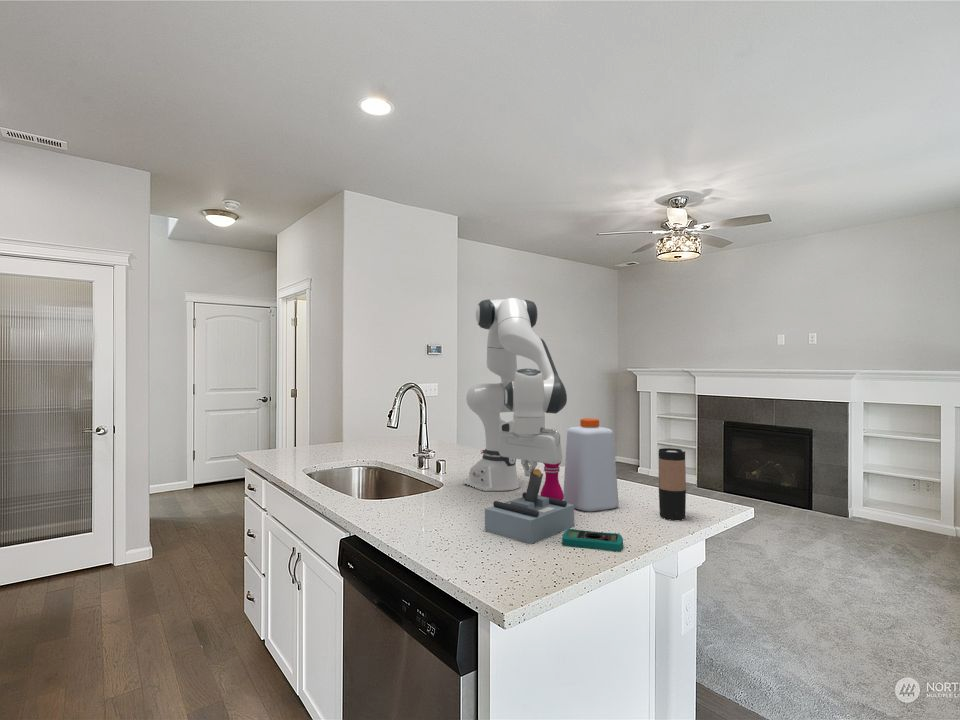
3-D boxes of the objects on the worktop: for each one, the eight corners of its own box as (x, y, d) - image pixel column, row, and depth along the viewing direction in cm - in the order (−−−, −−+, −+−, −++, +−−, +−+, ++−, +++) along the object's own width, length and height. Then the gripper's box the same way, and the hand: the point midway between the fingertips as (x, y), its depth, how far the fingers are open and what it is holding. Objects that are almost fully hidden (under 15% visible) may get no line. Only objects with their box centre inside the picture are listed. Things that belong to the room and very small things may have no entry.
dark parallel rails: (491, 506, 140) (491, 501, 140) (524, 496, 151) (524, 491, 151) (536, 518, 130) (536, 511, 130) (568, 506, 140) (568, 500, 140)
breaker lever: (522, 504, 140) (531, 468, 138) (529, 502, 142) (538, 466, 140) (529, 508, 139) (538, 472, 137) (535, 506, 141) (544, 470, 139)
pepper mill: (563, 513, 154) (562, 448, 154) (539, 512, 155) (539, 447, 156) (564, 507, 161) (563, 444, 161) (541, 506, 162) (541, 444, 163)
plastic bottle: (624, 508, 159) (623, 420, 160) (583, 513, 154) (582, 422, 154) (596, 497, 173) (595, 416, 174) (558, 501, 168) (557, 418, 168)
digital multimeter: (622, 554, 122) (622, 542, 122) (561, 547, 126) (561, 535, 126) (623, 544, 129) (623, 532, 129) (565, 538, 133) (565, 527, 133)
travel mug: (654, 517, 150) (653, 450, 150) (665, 511, 155) (665, 447, 156) (679, 522, 144) (678, 453, 145) (690, 516, 150) (689, 450, 150)
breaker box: (484, 530, 139) (484, 501, 139) (529, 514, 153) (529, 488, 153) (530, 544, 127) (530, 512, 128) (574, 525, 142) (574, 497, 142)
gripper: (566, 428, 135) (567, 480, 135) (509, 423, 149) (509, 469, 149) (552, 430, 131) (553, 483, 130) (494, 425, 145) (495, 473, 145)
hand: (529, 476), depth 140 cm, fingers closed
